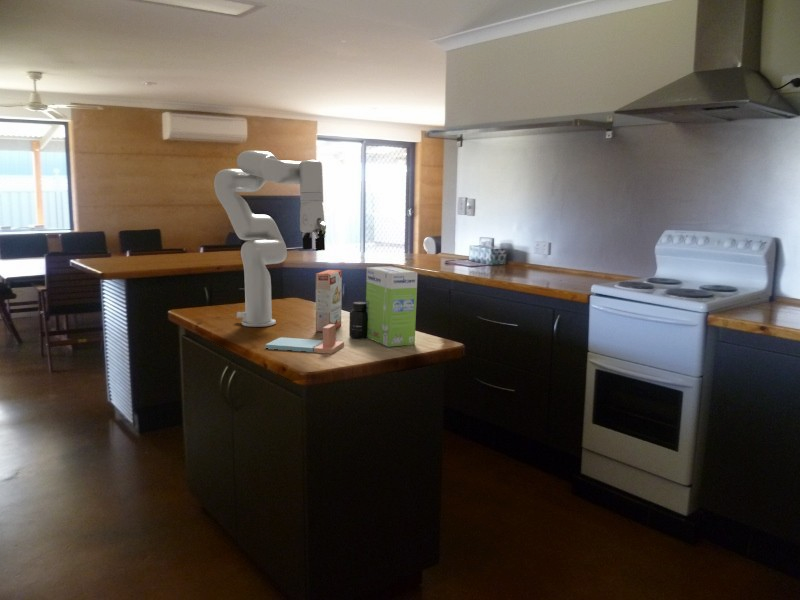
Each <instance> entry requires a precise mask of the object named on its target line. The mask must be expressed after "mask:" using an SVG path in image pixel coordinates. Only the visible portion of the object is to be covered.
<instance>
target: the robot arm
mask: <svg viewBox="0 0 800 600" xmlns="http://www.w3.org/2000/svg"><path fill="white" fill-rule="evenodd" d="M236 165H237V167H238V168H225V169H222V170H219V171H218V172H217V173H216V174H215V177H214V181H213V183H214V185H213V187H214V191H215V195H216V197H217V199H218V201H219V202H220V204H221V205H222V207H223V208H224V210H225V212H226V214H227V216H228V219H229V221H230V224H231V226H232V228H233V230H234V232H235V234H236V236H237V237H238V239H240V240H242V241H245V242H244V243H243V244H242V245H241V249H240V257H241V261H242V265H243V275H244V280H243V281H244V300H245V301H244V306H245V307H244V309H245V311H237V312H236V318H237V319H242V321H241V325H242V326H243V327H251V328H260V327H261V328H262V327H270V326H274V325H275V324H277V321H276V319H274V318H272V315H273V313H272V279H271V274H270V271H269V270H268V268H267V266H266V265H272V264H273V265H277V264H280V263H283V262H284V261H285V260H286V258H287V257H288V256H287V255H288V250H287V246H286V242H285V241H284V238H283V236H282V234H281V232H280V230H279V228H278V225H277V223H276V222H275V220H274V219H273V218H272V217H271V216H270V215H267V214H255V213H254V212H252V209H251V208H250V206H249V204H248V202H247V201H246V200H245V199H244V197H242V195H240V194H239V193H253V192H258V191H259V190H261V188H262V187H263V186H264V185H265V184H266V183H267V182H272V183H277V184H283V185H284V184H286V185H287V184H294V185H299V191H300V198H299V199H300V209H299V231H300V232H301V238H302V249H303V250H312V249H313V238H312V233H314V235H315V238H314V243H315V246H314V247H315V251H318V252H319V251H325V250H326V246H325V245H326V243H325V242H326V240H325V238H326V232H327V231H326V229H327V225H326V223H325V211H324V205H323V203H324V185H323V184H324V181H323V180H324V179H323V164H322V162H321V161H320V160H318V159H317V160H315V159H310V160H309V159H308V160H301V161H297V160H296V161H295V160H283V159H282V160H281V159H280V160H279V159H278V157H276V156H275V155H274V154H273V153H272V152H269V151H265V150H245V151H243V152H240V154H239V155H237V159H236Z"/></svg>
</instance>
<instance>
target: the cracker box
mask: <svg viewBox="0 0 800 600" xmlns="http://www.w3.org/2000/svg"><path fill="white" fill-rule="evenodd" d="M342 273H343V271H342V270H341V269H326V270H323V271H320V272H317V273H315V332H320V333H321V332H322V333H323V327H325V326H327V325H329V324H335V326H336V329H337V328H339V327H341V326H342V298H343V297H342V290H343V288H342V287H343V283H342V281H343V280H342V279H343V274H342Z"/></svg>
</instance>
